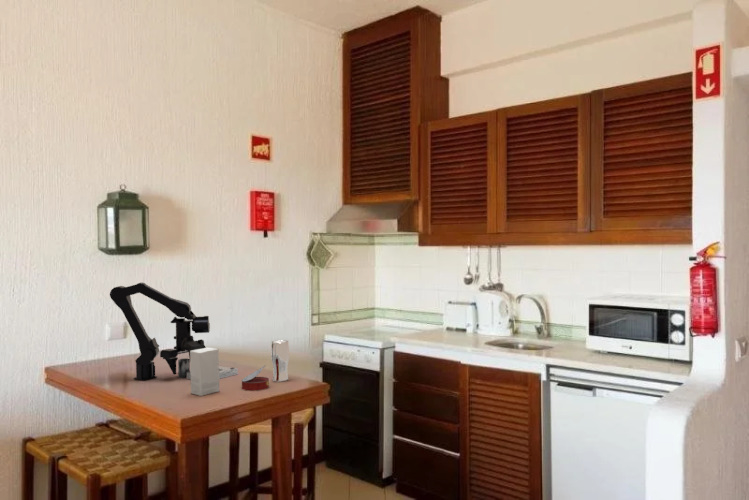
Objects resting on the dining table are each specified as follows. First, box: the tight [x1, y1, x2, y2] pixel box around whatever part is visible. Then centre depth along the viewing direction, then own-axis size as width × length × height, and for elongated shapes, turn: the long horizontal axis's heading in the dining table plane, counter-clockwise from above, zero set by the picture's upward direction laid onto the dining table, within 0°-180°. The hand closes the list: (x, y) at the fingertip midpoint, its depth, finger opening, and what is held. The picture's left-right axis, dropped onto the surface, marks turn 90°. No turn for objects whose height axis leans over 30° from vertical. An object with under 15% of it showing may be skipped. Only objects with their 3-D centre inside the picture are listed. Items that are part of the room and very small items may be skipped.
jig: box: [186, 365, 239, 380], centre depth 241 cm, size 16×12×3 cm
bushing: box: [177, 357, 191, 379], centre depth 241 cm, size 4×4×7 cm
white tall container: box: [270, 339, 290, 383], centre depth 232 cm, size 7×7×15 cm
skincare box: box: [189, 346, 220, 397], centre depth 213 cm, size 8×7×16 cm
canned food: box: [241, 365, 270, 391], centre depth 220 cm, size 11×10×10 cm
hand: (183, 372), depth 241 cm, fingers open, 9 cm apart
